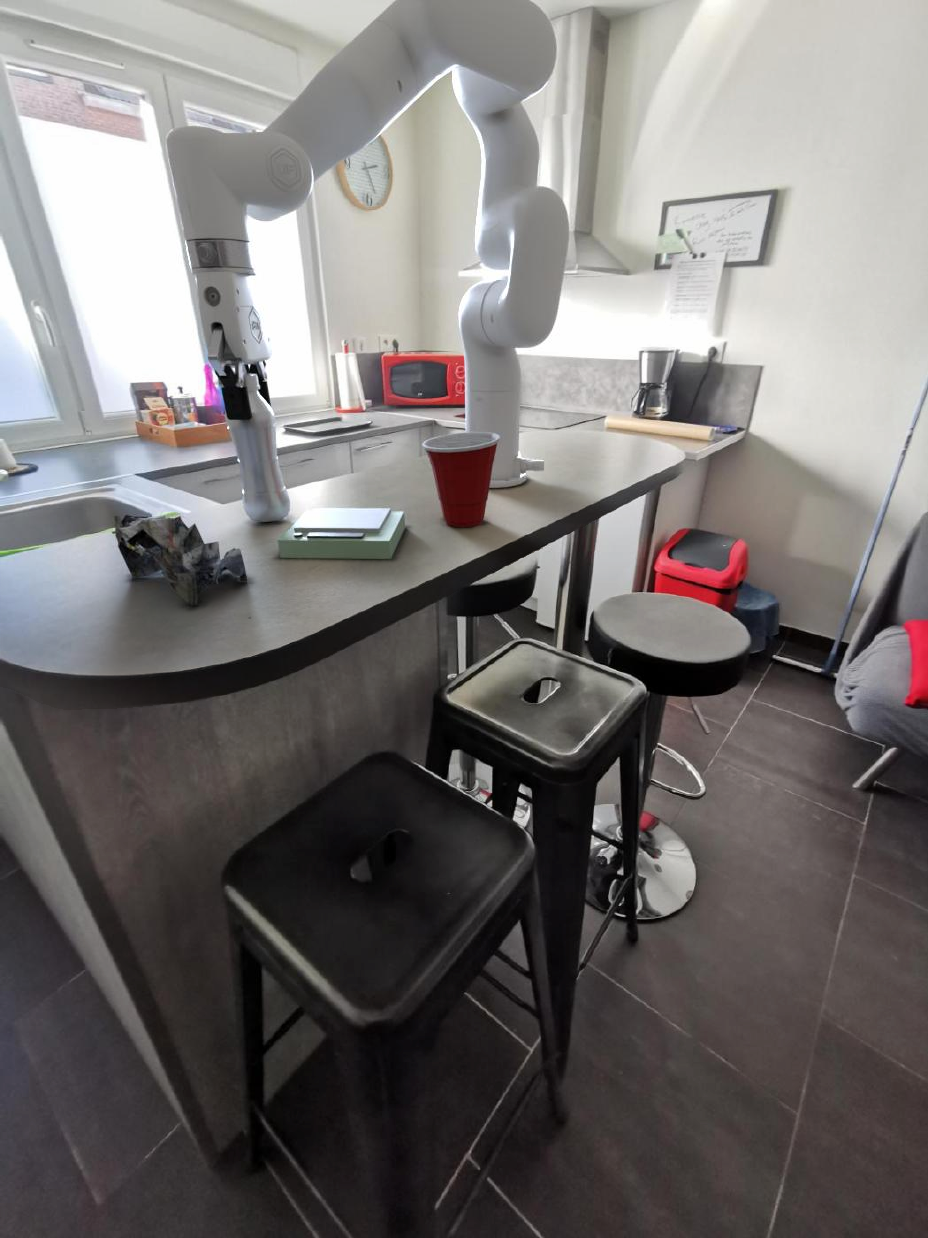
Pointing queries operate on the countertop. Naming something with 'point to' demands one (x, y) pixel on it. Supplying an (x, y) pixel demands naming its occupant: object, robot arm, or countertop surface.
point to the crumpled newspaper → (174, 554)
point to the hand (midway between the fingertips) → (250, 414)
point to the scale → (344, 534)
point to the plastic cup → (462, 474)
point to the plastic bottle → (259, 458)
